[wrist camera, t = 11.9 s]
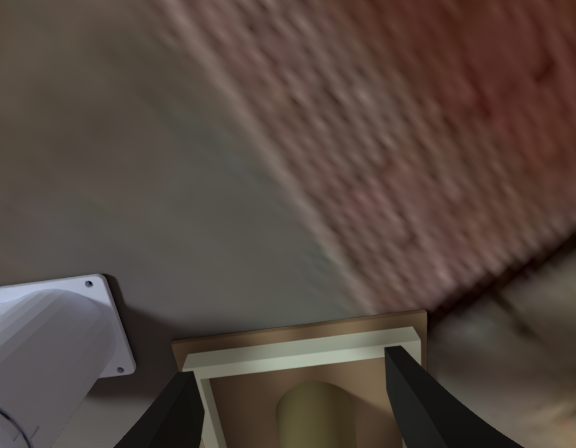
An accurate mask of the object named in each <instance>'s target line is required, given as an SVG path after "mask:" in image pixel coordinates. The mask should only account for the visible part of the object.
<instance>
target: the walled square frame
mask: <svg viewBox="0 0 576 448" xmlns="http://www.w3.org/2000/svg"><path fill="white" fill-rule="evenodd" d="M399 345H401V346H402V347H403V348H404V349H405V350H406V351H407V352H408V353H409V354H410V355H411V356H412V357H413V358H414V359H415V360H416V361H417V362H418V363H419V364H420V365H421V340H420V338H419V336H418V335H417V333H416V331H415V330H414V328H413V326H412V327H403V328H395V329H387V330H379V331H371V332H363V333H355V334H347V335H339V336H331V337H323V338H314V339H306V340H298V341H290V342H282V343H274V344H266V345H258V346H250V347H242V348H234V349H225V350H217V351H209V352H201V353H193V354H188V355H187V358H186V361H185V363H184V366H183V369H182V370H183V372H186V371H194V374H195V378H196V382H197V385H198V389H199V392H200V396H201V399H202V403H203V406H204V410H205V416H204V423H203V430H202V439H203V442H204V445H205V448H227V446H226V442H225V438H224V434H223V431H222V427H221V423H220V419H219V415H218V412H217V408H216V404H215V400H214V397H213V393H212V389H211V385H210V381H209V378H215V377H224V376H232V375H240V374H248V373H257V372H265V371H273V370H281V369H290V368H298V367H306V366H314V365H323V364H331V363H339V362H347V361H356V360H364V359H372V358H380V357H385V355H384V347H390V346H399ZM402 442H403V448H407V447H406V444H405V442H404V440H403V437H402Z"/></svg>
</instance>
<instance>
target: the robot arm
mask: <svg viewBox="0 0 576 448" xmlns="http://www.w3.org/2000/svg"><path fill="white" fill-rule="evenodd" d="M88 281H91V282H92V283H93V285H91V284H89V282H88ZM384 355H385V373H386V391H387V394H388V398H389V401H390V404H391V408H392V411H393V414H394V417H395V420H396V423H397V425H398V427H399V430H400V432H401V435H402V437H403V440H404V442H405V444H406V447H407V448H524V447H522V446H521V445H519V444H517V443H516V442H514V441H513V440H511V439H510V438H508V437H506V436H505V435H503V434H502V433H500V432H499V431H498V430H496V429H495V428H493V427H492V426H490V425H489V424H488V423H486V422H485V421H484V420H482V419H481V418H480V417H478V416H477V415H476V414H474V413H473V412H472V411H471V410H469V409H468V408H467V407H466V406H464V405H463V404H462V403H461V402H460V401H458V400H457V399H456V398H455V397H454V396H453V395H451V394H450V393H449V392H448V391H447V390H446V389H445V388H444V387H442V386H441V385H440V384H439V383H438V382H437V381H436V380H435V379H434V378H433V377H432V376H431V375H430V374H429V373H428V372H427V371H426V370H425V369H424V368H423V367H422V366H421V365H420V364H419V363H418V362H417V361H416V360H415V359H414V358H413V357H412V356H411V355H410V354H409V353H408V352H407V351H406V350H405V349H404V348H403V347H402V346H401V345H399V346H390V347H384ZM120 367H122V368H123V369H121V368H120ZM135 369H136V364H135V361H134V358H133V355H132V352H131V349H130V346H129V343H128V340H127V338H126V335H125V332H124V329H123V326H122V323H121V320H120V317H119V314H118V312H117V309H116V306H115V303H114V300H113V297H112V294H111V291H110V288H109V286H108V283H107V280H106V278H105V277H104V276H103V275H101V274H93V275H85V276H77V277H70V278H62V279H55V280H47V281H39V282H32V283H24V284H17V285H9V286H1V287H0V448H51V446H52V445H53V444H54V442H55V441H56V439H57V438H58V436H59V435H60V433H61V432H62V430H63V429H64V427H65V426H66V424H67V423H68V421H69V420H70V419H71V417H72V416H73V414H74V413H75V411H76V410H77V408H78V407H79V405H80V404H81V402H82V401H83V399H84V398H85V396H86V395H87V394H88V392H89V391H90V389H91V388H92V386H93V385H94V383H95V382H96V380H97V379H98V378H104V377H112V376H120V375H128V374H132V373H133V372H134V371H135ZM204 416H205V410H204V406H203V403H202V399H201V396H200V392H199V389H198V385H197V382H196V378H195V374H194V371H186V372H178V373H177V374H176V375H175V376H174V377H173V379H172V380H171V381H170V382H169V384H168V385H167V386H166V387H165V389H164V390H163V391H162V392H161V393H160V395H159V396H158V397H157V398H156V400H155V401H154V402H153V403H152V405H151V406H150V407H149V408H148V409H147V411H146V412H145V413H144V414H143V415H142V417H141V418H140V419H139V420H138V421H137V422H136V424H135V425H134V426H133V427H132V428H131V429H130V430H129V431H128V432H127V434H126V435H125V436H124V437H123V438H122V439H121V440H120V441H119V442H118V443H117V445H116V446H115V447H114V448H199V446H200V442H201V436H202V430H203V423H204Z"/></svg>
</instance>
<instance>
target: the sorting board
mask: <svg viewBox="0 0 576 448" xmlns="http://www.w3.org/2000/svg"><path fill="white" fill-rule="evenodd" d="M412 326H413V328H414V330H415V331H416V333H417V335H418V336H419V338H420V340H421V366H422V367H423V368H424V369H425V370H426V371H427V312H426V310H425V309H422V310H414V311H406V312H398V313H390V314H382V315H374V316H366V317H358V318H350V319H342V320H334V321H326V322H318V323H310V324H302V325H294V326H286V327H278V328H270V329H262V330H254V331H246V332H238V333H230V334H222V335H214V336H206V337H198V338H190V339H182V340H174V341H172V343H171V347H172V350H173V353H174V357H175V360H176V363H177V367H178V370H179V372H183V370H182V369H183V366H184V363H185V361H186V358H187V355H188V354H193V353H201V352H209V351H217V350H225V349H234V348H242V347H250V346H258V345H266V344H274V343H282V342H290V341H298V340H306V339H314V338H323V337H331V336H339V335H347V334H355V333H363V332H371V331H379V330H387V329H395V328H403V327H412ZM209 381H210V385H211V389H212V393H213V397H214V400H215V404H216V408H217V412H218V415H219V419H220V423H221V427H222V431H223V434H224V438H225V442H226V446H227V448H280V443H279V435H278V427H277V420H276V408H277V405H278V403H279V401H280V399H281V397H282V396H283V395H284V394H285V393H286V392H287V391H288V390H289V389H291V388H293V387H295V386H297V385H299V384H303V383H307V382H312V381H314V382H327V383H330V384H333V385H336V386H338V387H339V388H341V389H342V390H344V391H345V392H346V393H347V394H348V395H349V397H350V398H351V399H352V402H353V406H354V413H355V425H356V437H357V448H403V442H402V435H401V432H400V430H399V427H398V425H397V423H396V420H395V417H394V414H393V411H392V408H391V404H390V401H389V398H388V394H387V391H386V373H385V357H380V358H372V359H364V360H356V361H347V362H339V363H331V364H323V365H314V366H306V367H298V368H290V369H281V370H273V371H265V372H257V373H248V374H240V375H232V376H224V377H215V378H209ZM200 444H201V447H202V448H205V445H204V442H203V439H202V436H201V442H200Z"/></svg>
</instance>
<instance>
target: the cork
mask: <svg viewBox="0 0 576 448" xmlns="http://www.w3.org/2000/svg"><path fill="white" fill-rule="evenodd" d="M276 420H277V427H278V435H279V443H280V448H357V437H356V425H355V413H354V406H353V402H352V399H351V398H350V397H349V395H348V394H347V393H346V392H345V391H344V390H342V389H341V388H339V387H338V386H336V385H333V384H330V383H327V382H314V381H312V382H307V383H303V384H299V385H297V386H295V387H293V388H291V389H289V390H288V391H287V392H286V393H285V394H284V395H283V396H282V397H281V399H280V401H279V403H278V405H277V408H276Z"/></svg>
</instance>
